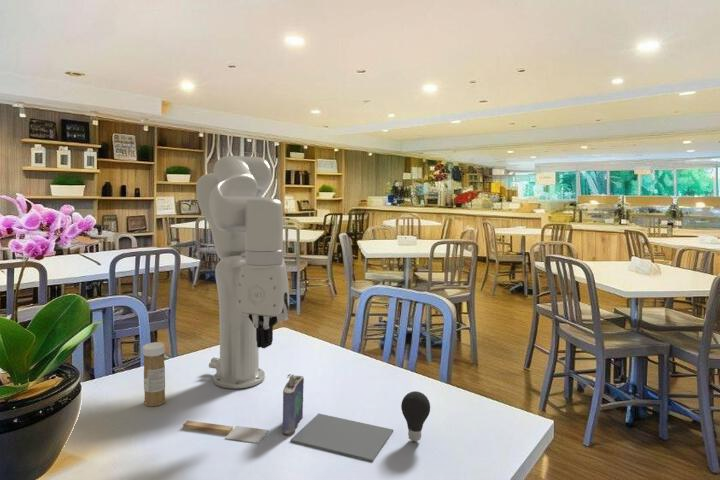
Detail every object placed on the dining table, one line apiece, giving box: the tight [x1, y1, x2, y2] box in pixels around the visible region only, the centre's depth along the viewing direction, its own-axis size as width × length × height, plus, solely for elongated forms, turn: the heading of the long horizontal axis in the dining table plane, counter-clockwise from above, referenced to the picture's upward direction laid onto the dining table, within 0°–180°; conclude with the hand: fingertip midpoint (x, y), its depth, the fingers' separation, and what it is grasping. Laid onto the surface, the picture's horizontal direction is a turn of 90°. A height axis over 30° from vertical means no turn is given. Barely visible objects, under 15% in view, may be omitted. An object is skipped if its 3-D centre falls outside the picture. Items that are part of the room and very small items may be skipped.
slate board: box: [290, 412, 394, 463], centre depth 96 cm, size 17×12×1 cm
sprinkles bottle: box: [142, 341, 166, 407], centre depth 108 cm, size 5×5×14 cm
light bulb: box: [400, 391, 431, 443], centre depth 94 cm, size 6×6×10 cm
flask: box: [281, 373, 305, 437], centre depth 100 cm, size 9×3×11 cm, turn 172°
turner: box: [182, 420, 269, 445], centre depth 97 cm, size 17×5×1 cm, turn 78°
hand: (264, 345), depth 101 cm, fingers closed
